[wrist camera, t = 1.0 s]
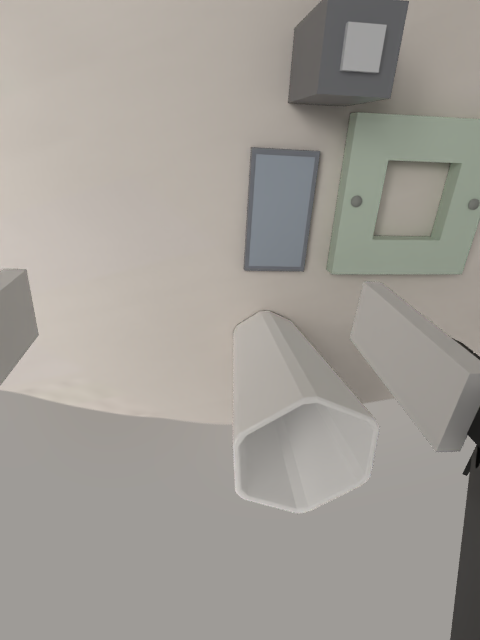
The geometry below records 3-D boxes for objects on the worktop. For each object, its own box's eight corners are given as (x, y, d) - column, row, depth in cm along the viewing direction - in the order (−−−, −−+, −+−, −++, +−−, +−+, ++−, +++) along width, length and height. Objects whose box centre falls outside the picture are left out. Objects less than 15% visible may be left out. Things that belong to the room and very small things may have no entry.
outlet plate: (350, 113, 32) (358, 112, 30) (498, 121, 33) (513, 120, 32) (326, 269, 38) (332, 275, 36) (451, 269, 40) (462, 274, 38)
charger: (294, 28, 29) (331, -9, 21) (356, 33, 29) (412, -1, 22) (288, 102, 31) (318, 93, 23) (345, 106, 31) (393, 97, 24)
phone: (250, 146, 32) (252, 147, 31) (316, 150, 33) (320, 151, 32) (243, 266, 37) (244, 270, 36) (300, 267, 38) (303, 271, 37)
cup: (306, 377, 44) (366, 505, 29) (221, 385, 43) (236, 522, 28) (311, 290, 39) (388, 390, 24) (215, 297, 38) (230, 406, 23)
